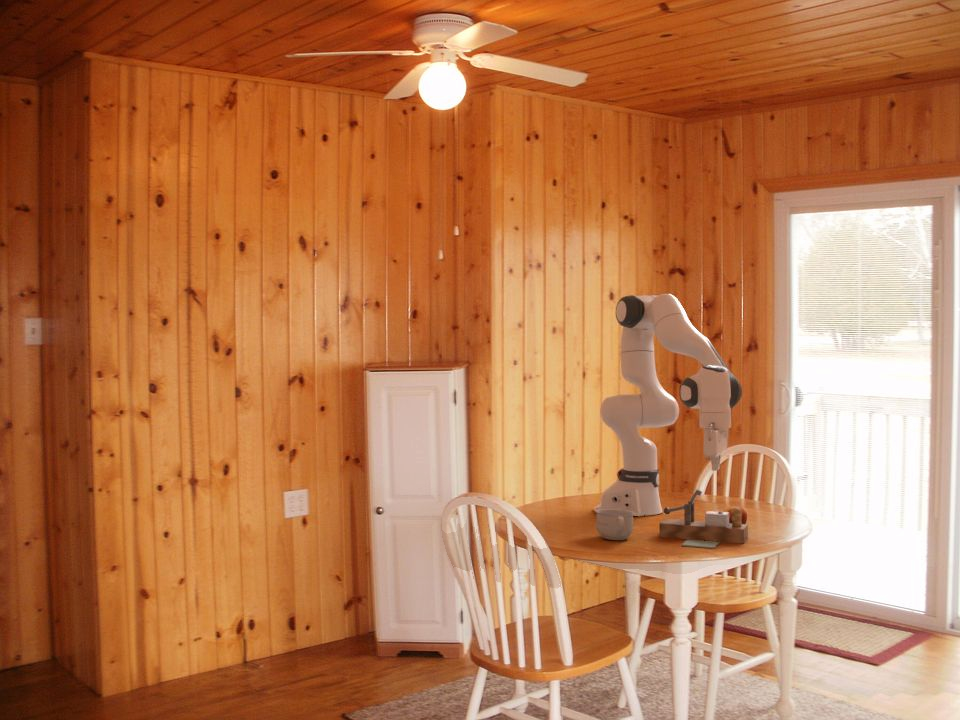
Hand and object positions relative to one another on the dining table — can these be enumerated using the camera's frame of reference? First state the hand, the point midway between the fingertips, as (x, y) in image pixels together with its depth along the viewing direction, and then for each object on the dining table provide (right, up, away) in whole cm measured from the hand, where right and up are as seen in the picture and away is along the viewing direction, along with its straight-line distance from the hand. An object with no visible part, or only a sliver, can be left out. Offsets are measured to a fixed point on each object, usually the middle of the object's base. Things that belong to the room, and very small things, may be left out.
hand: (715, 469), depth 272 cm
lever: (-6, -12, +4) cm, 13 cm away
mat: (-6, -20, -6) cm, 22 cm away
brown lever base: (-3, -20, +3) cm, 20 cm away
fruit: (+9, -20, +14) cm, 25 cm away
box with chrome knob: (+1, -16, +1) cm, 16 cm away
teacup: (-28, -21, +2) cm, 35 cm away
